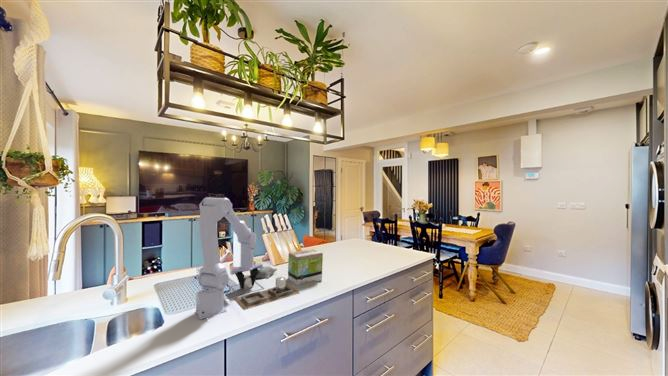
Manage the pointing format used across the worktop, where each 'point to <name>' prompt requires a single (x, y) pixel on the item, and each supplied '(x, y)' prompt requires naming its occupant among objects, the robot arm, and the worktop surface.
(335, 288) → the worktop surface
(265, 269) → the packaged food
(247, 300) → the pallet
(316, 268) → the tea box
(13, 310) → the worktop surface
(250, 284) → the loose billet
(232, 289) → the tray
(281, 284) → the disc
